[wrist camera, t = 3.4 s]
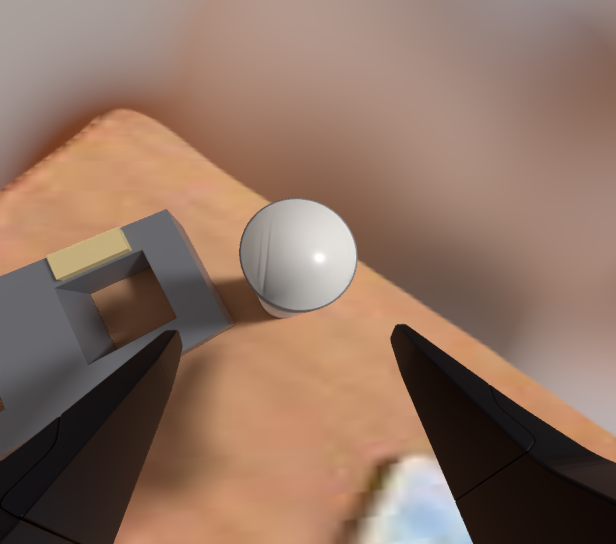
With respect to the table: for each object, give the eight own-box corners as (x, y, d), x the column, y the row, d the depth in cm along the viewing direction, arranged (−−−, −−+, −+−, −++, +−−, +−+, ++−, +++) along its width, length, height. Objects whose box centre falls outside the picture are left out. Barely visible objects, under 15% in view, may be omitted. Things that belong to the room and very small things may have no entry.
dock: (-88, 511, 13) (-208, 574, 10) (-135, 357, 15) (-257, 367, 11) (235, 325, 19) (227, 325, 15) (180, 223, 20) (161, 202, 16)
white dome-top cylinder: (280, 328, 19) (294, 338, 7) (250, 292, 19) (213, 241, 7) (315, 298, 20) (379, 260, 8) (286, 263, 20) (306, 178, 8)
